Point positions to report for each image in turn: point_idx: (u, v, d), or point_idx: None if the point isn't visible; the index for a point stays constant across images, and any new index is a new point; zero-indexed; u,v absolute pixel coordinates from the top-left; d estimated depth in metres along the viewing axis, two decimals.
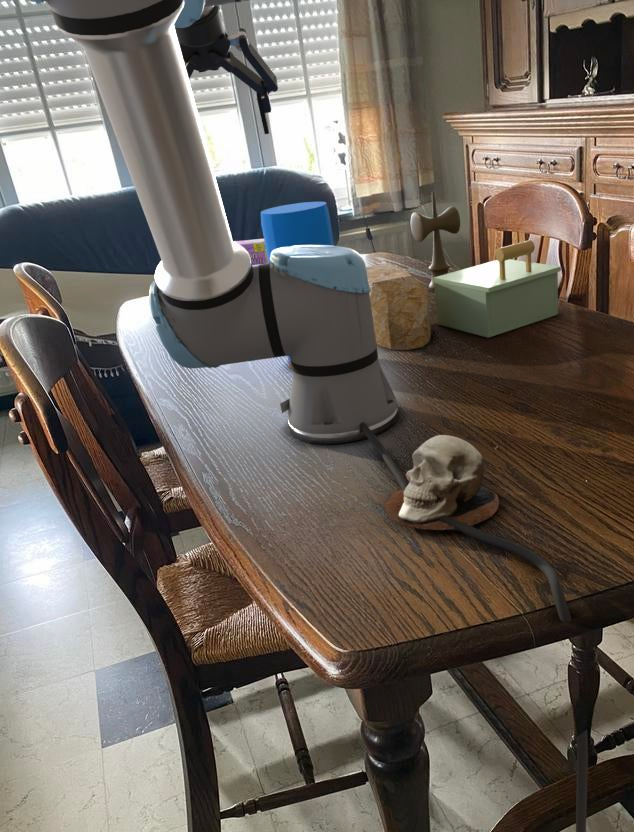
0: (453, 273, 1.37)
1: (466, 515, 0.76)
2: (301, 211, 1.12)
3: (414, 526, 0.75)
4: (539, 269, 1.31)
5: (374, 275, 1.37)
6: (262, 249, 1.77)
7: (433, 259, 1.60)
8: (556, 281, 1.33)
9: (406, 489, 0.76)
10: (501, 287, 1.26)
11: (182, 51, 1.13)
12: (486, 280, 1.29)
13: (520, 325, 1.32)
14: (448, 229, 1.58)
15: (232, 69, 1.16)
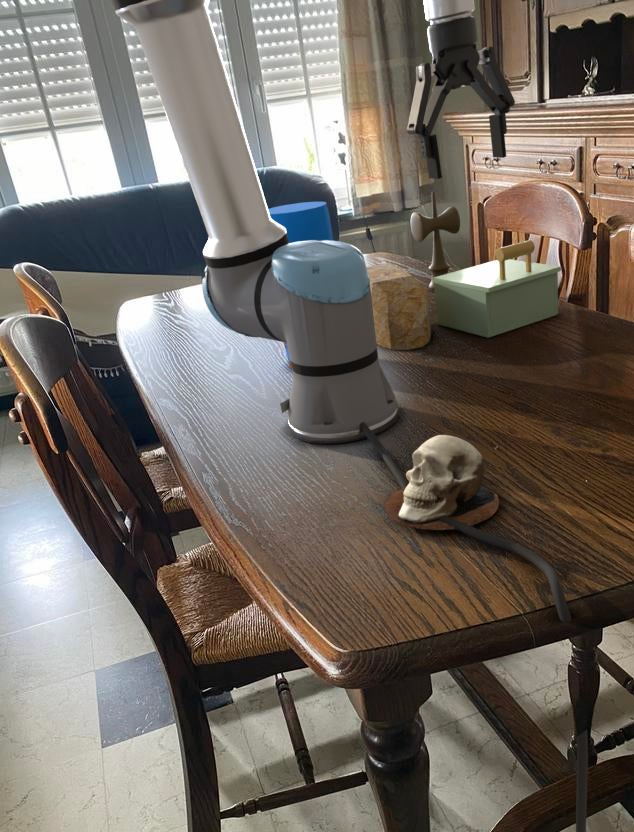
0: (453, 273, 1.37)
1: (466, 515, 0.76)
2: (301, 211, 1.12)
3: (414, 526, 0.75)
4: (539, 269, 1.31)
5: (374, 275, 1.37)
6: None
7: (433, 259, 1.60)
8: (556, 281, 1.33)
9: (406, 489, 0.76)
10: (501, 287, 1.26)
11: (443, 64, 1.16)
12: (486, 280, 1.29)
13: (520, 325, 1.32)
14: (448, 229, 1.58)
15: (482, 81, 1.20)
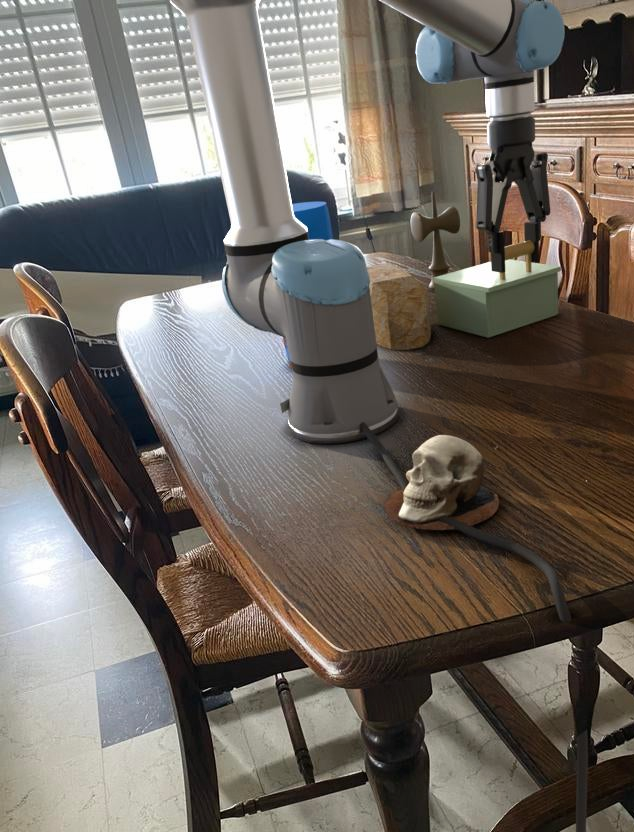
0: (453, 273, 1.37)
1: (466, 515, 0.76)
2: (301, 211, 1.12)
3: (414, 526, 0.75)
4: (539, 269, 1.31)
5: (374, 275, 1.37)
6: None
7: (433, 259, 1.60)
8: (556, 281, 1.33)
9: (406, 489, 0.76)
10: (501, 287, 1.26)
11: (501, 159, 1.18)
12: (486, 280, 1.29)
13: (520, 325, 1.32)
14: (448, 229, 1.58)
15: (530, 182, 1.23)
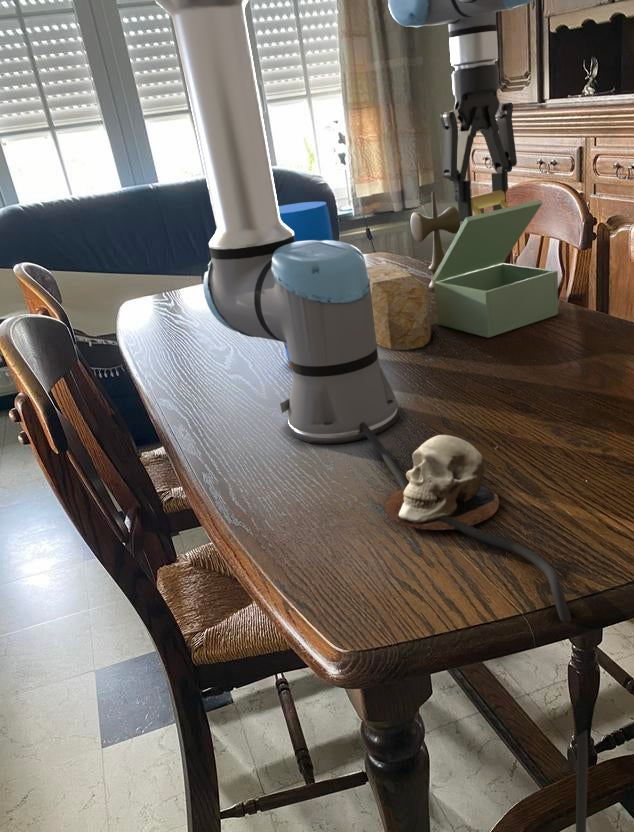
0: None
1: (466, 515, 0.76)
2: (301, 211, 1.12)
3: (414, 526, 0.75)
4: None
5: (374, 275, 1.37)
6: None
7: (433, 259, 1.60)
8: (556, 281, 1.33)
9: (406, 489, 0.76)
10: (480, 216, 1.24)
11: (466, 107, 1.21)
12: None
13: (520, 325, 1.32)
14: (448, 229, 1.58)
15: (495, 132, 1.25)
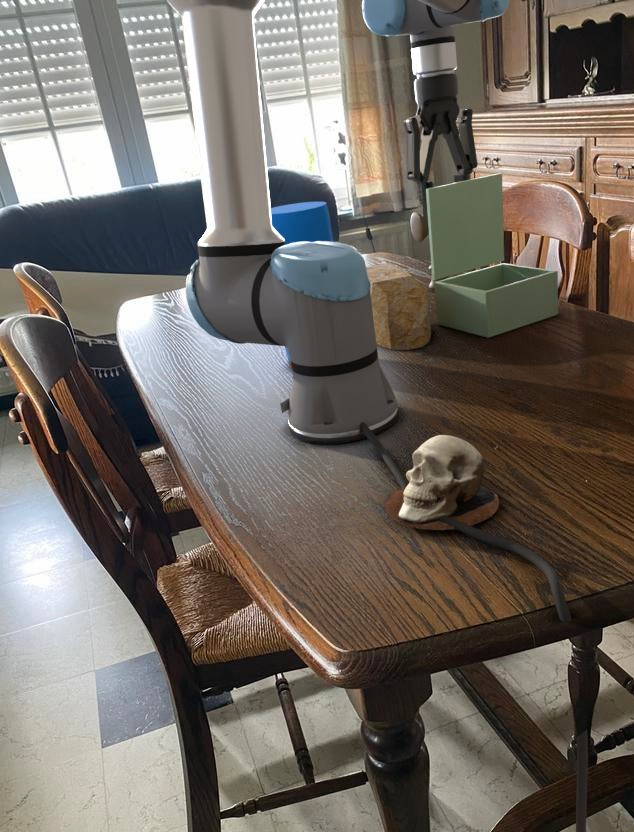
0: None
1: (466, 515, 0.76)
2: (301, 211, 1.12)
3: (414, 526, 0.75)
4: None
5: (374, 275, 1.37)
6: None
7: None
8: (556, 281, 1.33)
9: (406, 489, 0.76)
10: (440, 186, 1.29)
11: (427, 113, 1.29)
12: None
13: (520, 325, 1.32)
14: None
15: (456, 136, 1.33)
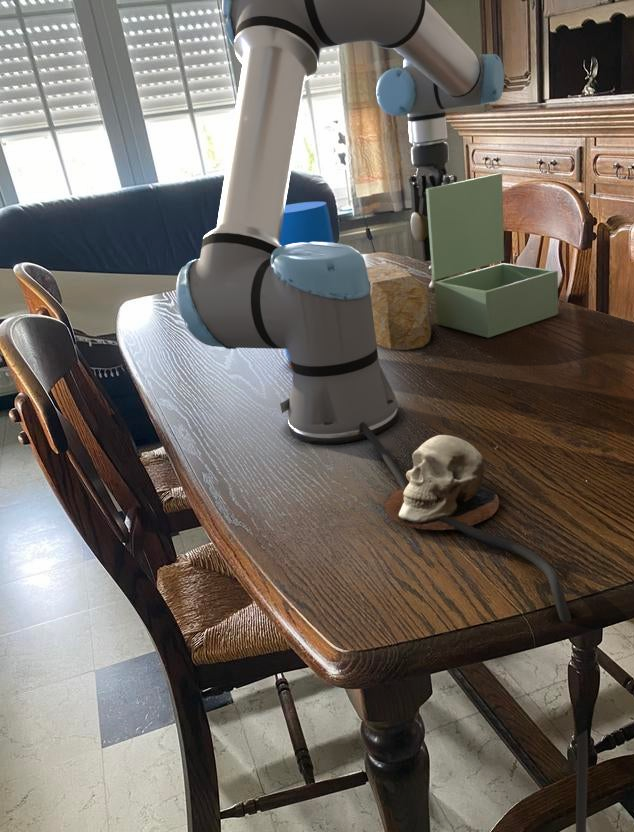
0: None
1: (466, 515, 0.76)
2: (301, 211, 1.12)
3: (414, 526, 0.75)
4: None
5: (374, 275, 1.37)
6: None
7: None
8: (556, 281, 1.33)
9: (406, 489, 0.76)
10: (440, 186, 1.29)
11: (418, 174, 1.55)
12: None
13: (520, 325, 1.32)
14: None
15: None
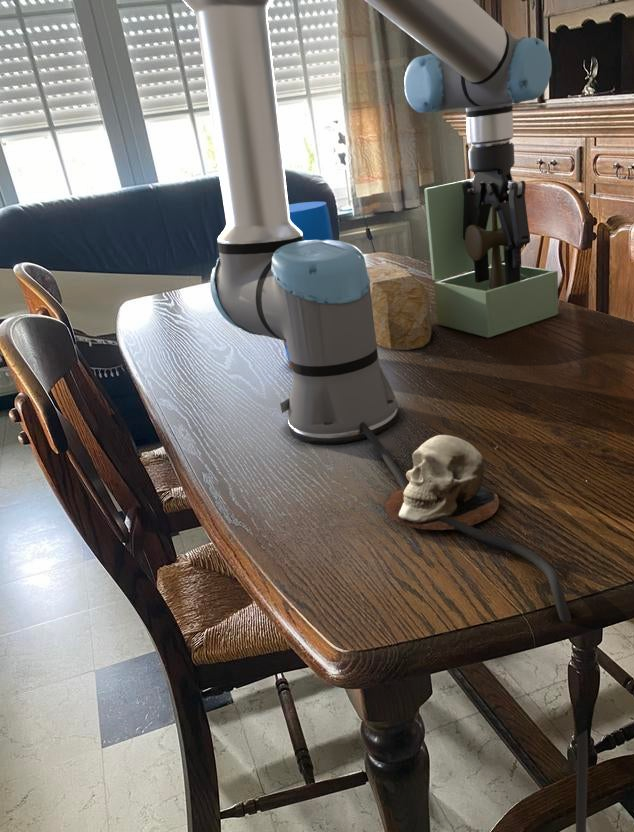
0: None
1: (466, 515, 0.76)
2: (301, 211, 1.12)
3: (414, 526, 0.75)
4: None
5: (374, 275, 1.37)
6: None
7: (491, 280, 1.34)
8: (556, 281, 1.33)
9: (406, 489, 0.76)
10: (438, 186, 1.30)
11: (475, 181, 1.28)
12: None
13: (520, 325, 1.32)
14: None
15: (498, 209, 1.25)
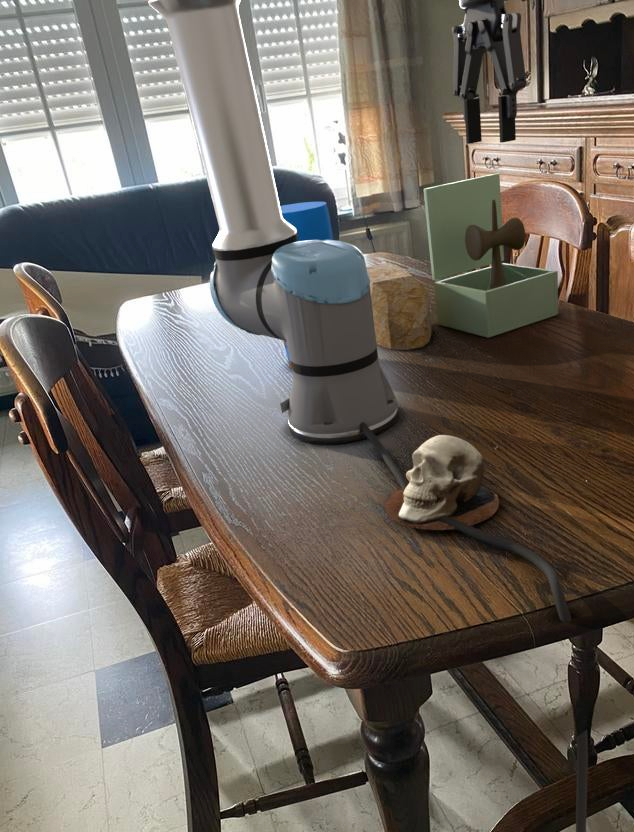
0: None
1: (466, 515, 0.76)
2: (301, 211, 1.12)
3: (414, 526, 0.75)
4: None
5: (375, 275, 1.37)
6: None
7: (491, 280, 1.34)
8: (556, 281, 1.33)
9: (406, 489, 0.76)
10: (438, 186, 1.30)
11: (466, 22, 1.17)
12: None
13: (520, 325, 1.32)
14: (510, 245, 1.31)
15: (491, 49, 1.14)
